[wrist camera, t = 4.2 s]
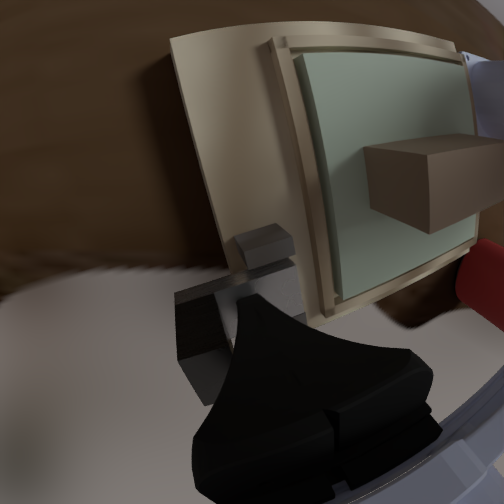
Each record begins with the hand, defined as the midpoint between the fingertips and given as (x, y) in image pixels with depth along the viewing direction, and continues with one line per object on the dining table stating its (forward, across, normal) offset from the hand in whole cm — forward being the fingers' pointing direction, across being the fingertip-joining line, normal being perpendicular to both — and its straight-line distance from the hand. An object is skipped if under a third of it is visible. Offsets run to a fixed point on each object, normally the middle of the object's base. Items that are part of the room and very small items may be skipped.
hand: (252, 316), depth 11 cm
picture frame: (+5, -9, -4) cm, 11 cm away
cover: (+3, -11, -4) cm, 12 cm away
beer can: (+5, -22, +8) cm, 24 cm away
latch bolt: (+2, 0, 0) cm, 2 cm away
